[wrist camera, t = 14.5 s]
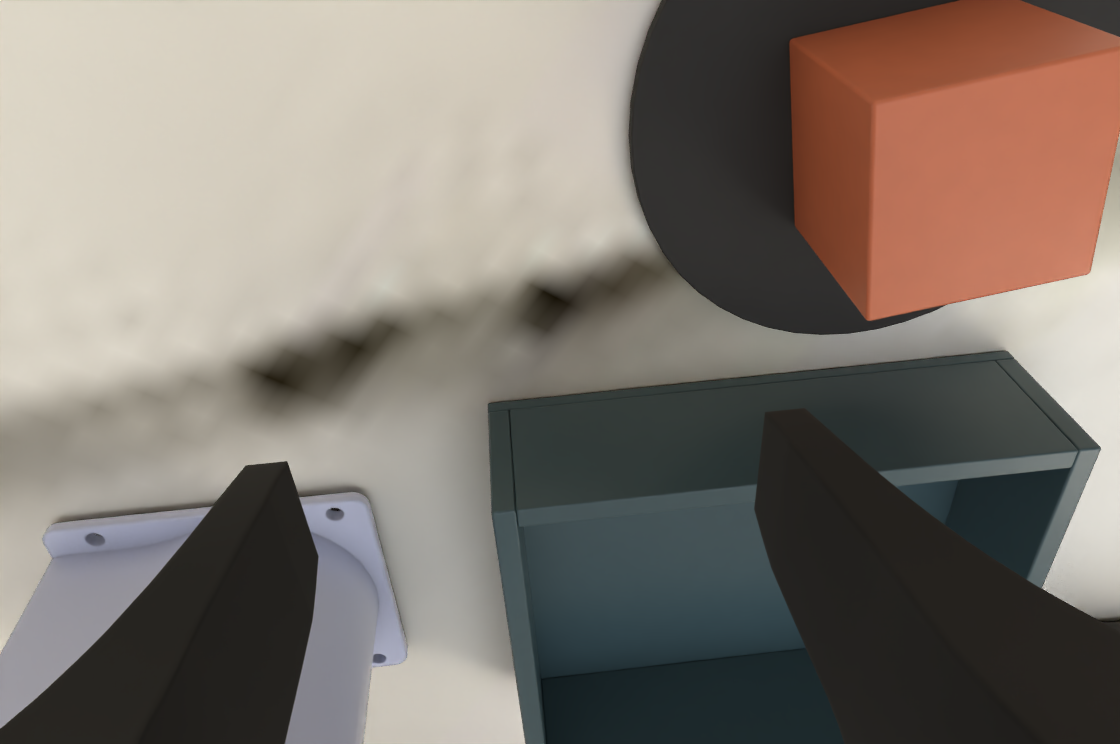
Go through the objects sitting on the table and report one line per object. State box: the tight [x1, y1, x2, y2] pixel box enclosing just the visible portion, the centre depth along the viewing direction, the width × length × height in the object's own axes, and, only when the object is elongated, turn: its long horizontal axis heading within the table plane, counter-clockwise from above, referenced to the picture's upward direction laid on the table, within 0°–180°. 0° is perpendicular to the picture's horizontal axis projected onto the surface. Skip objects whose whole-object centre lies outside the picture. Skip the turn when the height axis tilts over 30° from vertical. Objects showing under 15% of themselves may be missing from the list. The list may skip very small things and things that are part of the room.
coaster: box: [629, 0, 1120, 335], centre depth 19 cm, size 12×12×1 cm
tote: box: [488, 351, 1101, 744], centre depth 26 cm, size 15×13×4 cm
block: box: [789, 0, 1120, 321], centre depth 17 cm, size 5×5×5 cm
